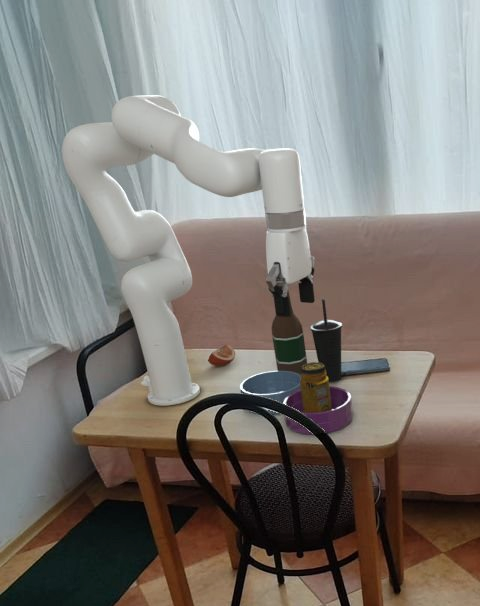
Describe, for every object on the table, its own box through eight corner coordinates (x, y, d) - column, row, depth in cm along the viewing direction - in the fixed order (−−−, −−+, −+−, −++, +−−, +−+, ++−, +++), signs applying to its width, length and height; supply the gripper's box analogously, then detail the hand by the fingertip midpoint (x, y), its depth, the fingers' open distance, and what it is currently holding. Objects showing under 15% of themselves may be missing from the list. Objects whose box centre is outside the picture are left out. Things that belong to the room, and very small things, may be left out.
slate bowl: (231, 411, 144) (227, 391, 142) (264, 387, 155) (261, 368, 153) (285, 418, 138) (282, 397, 136) (316, 393, 150) (313, 373, 147)
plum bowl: (274, 431, 133) (270, 409, 131) (306, 403, 145) (303, 383, 142) (334, 439, 128) (332, 417, 125) (363, 410, 139) (361, 389, 137)
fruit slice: (221, 359, 176) (218, 342, 174) (242, 360, 174) (239, 343, 171) (204, 370, 169) (201, 352, 167) (226, 371, 167) (222, 353, 165)
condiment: (331, 409, 140) (326, 358, 134) (339, 425, 132) (333, 371, 127) (299, 414, 139) (292, 363, 133) (304, 431, 131) (297, 377, 125)
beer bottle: (307, 380, 157) (294, 283, 146) (276, 382, 158) (261, 286, 146) (309, 368, 164) (298, 275, 152) (280, 370, 165) (266, 278, 153)
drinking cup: (340, 386, 152) (332, 304, 142) (311, 383, 155) (301, 303, 145) (351, 374, 158) (344, 295, 149) (323, 372, 161) (315, 294, 151)
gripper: (291, 213, 128) (300, 296, 137) (244, 229, 115) (257, 320, 123) (324, 213, 125) (331, 298, 134) (279, 229, 112) (290, 323, 120)
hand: (295, 308), depth 128 cm, fingers open, 9 cm apart
